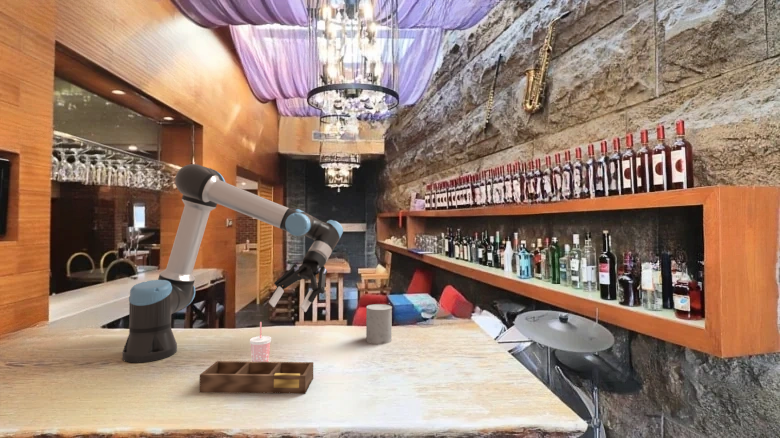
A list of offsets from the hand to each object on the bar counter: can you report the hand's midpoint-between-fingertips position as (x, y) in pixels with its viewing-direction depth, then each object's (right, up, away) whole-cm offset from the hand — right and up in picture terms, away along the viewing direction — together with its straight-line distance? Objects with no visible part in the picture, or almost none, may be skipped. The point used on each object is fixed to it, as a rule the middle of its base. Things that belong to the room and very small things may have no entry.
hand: (286, 307), depth 124 cm
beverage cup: (-5, -16, -9) cm, 20 cm away
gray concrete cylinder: (+29, -17, +19) cm, 39 cm away
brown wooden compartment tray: (-2, -16, -20) cm, 26 cm away
